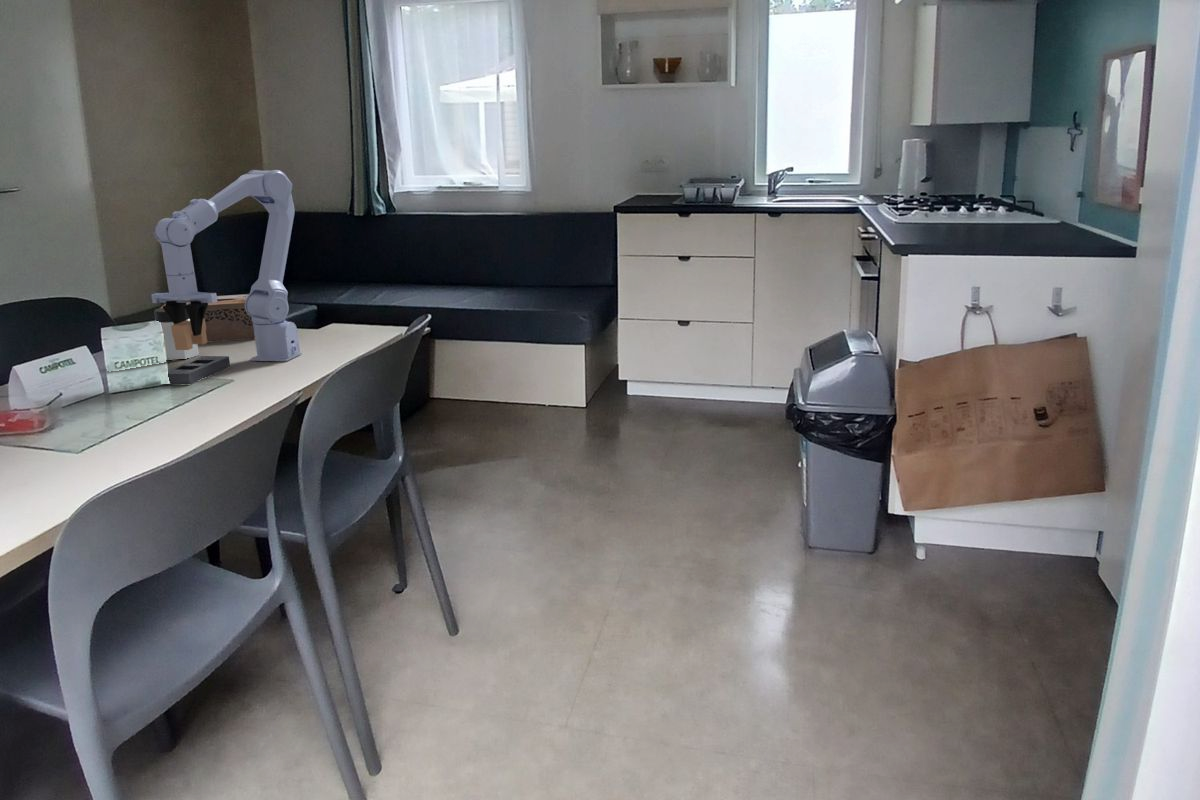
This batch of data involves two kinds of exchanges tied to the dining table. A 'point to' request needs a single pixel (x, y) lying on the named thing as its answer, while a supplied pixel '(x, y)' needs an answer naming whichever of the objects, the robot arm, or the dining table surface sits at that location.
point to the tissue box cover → (228, 319)
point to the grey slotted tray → (197, 369)
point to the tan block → (187, 335)
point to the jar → (169, 339)
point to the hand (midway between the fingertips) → (190, 334)
